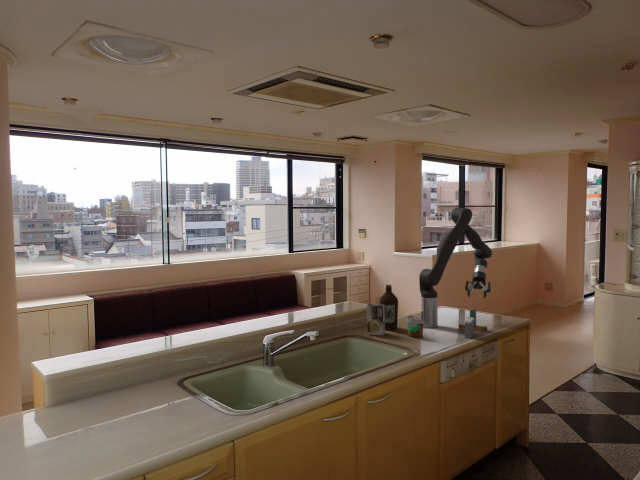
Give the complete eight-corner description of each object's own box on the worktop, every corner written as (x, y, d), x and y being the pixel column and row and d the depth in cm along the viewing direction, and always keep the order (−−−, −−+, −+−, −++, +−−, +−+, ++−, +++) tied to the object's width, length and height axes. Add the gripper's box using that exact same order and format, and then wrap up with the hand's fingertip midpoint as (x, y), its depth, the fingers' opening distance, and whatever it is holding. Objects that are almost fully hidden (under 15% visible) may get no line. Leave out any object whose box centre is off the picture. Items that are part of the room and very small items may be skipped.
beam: (458, 329, 272) (458, 309, 272) (459, 327, 275) (459, 308, 274) (486, 331, 265) (486, 311, 265) (487, 330, 268) (487, 310, 267)
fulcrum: (464, 337, 254) (464, 320, 253) (468, 333, 263) (468, 316, 262) (470, 338, 252) (470, 321, 252) (473, 333, 261) (473, 317, 261)
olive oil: (380, 325, 282) (380, 283, 281) (398, 326, 280) (398, 283, 279) (378, 330, 272) (378, 286, 270) (398, 331, 270) (397, 286, 268)
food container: (401, 334, 263) (401, 316, 262) (411, 333, 265) (411, 315, 264) (413, 339, 251) (413, 321, 251) (424, 338, 254) (424, 319, 253)
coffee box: (385, 332, 267) (385, 303, 266) (383, 335, 261) (383, 306, 260) (368, 331, 269) (368, 303, 268) (366, 334, 263) (366, 305, 262)
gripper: (466, 270, 289) (463, 292, 280) (491, 271, 283) (488, 293, 274) (468, 277, 295) (464, 299, 285) (492, 278, 288) (490, 301, 279)
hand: (476, 296), depth 279 cm, fingers open, 8 cm apart
